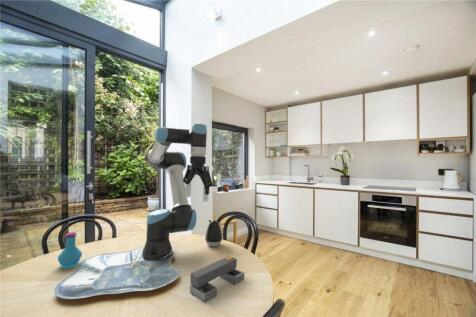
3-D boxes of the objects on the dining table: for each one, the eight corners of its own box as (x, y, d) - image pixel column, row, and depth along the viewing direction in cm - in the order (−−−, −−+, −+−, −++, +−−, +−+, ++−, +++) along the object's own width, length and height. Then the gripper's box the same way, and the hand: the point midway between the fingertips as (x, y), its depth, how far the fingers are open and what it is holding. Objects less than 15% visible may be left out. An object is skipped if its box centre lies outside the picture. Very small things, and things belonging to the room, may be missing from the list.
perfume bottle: (83, 264, 105) (84, 233, 105) (59, 271, 98) (60, 238, 98) (79, 258, 111) (80, 229, 111) (55, 264, 104) (57, 233, 105)
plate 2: (219, 277, 97) (219, 270, 97) (229, 272, 101) (229, 265, 101) (234, 285, 91) (234, 277, 91) (244, 279, 95) (244, 272, 95)
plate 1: (189, 292, 85) (190, 284, 85) (201, 286, 89) (202, 279, 89) (204, 303, 79) (205, 294, 79) (217, 295, 83) (217, 287, 83)
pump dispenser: (215, 240, 141) (215, 217, 141) (225, 245, 133) (226, 220, 133) (201, 244, 134) (202, 219, 134) (211, 250, 126) (212, 223, 126)
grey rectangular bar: (189, 292, 85) (190, 272, 85) (229, 272, 101) (229, 254, 101) (197, 297, 82) (197, 276, 82) (236, 275, 98) (236, 257, 98)
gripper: (177, 154, 113) (175, 195, 113) (209, 156, 96) (207, 204, 97) (189, 155, 118) (187, 194, 119) (221, 156, 102) (219, 202, 102)
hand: (196, 199), depth 108 cm, fingers open, 13 cm apart
